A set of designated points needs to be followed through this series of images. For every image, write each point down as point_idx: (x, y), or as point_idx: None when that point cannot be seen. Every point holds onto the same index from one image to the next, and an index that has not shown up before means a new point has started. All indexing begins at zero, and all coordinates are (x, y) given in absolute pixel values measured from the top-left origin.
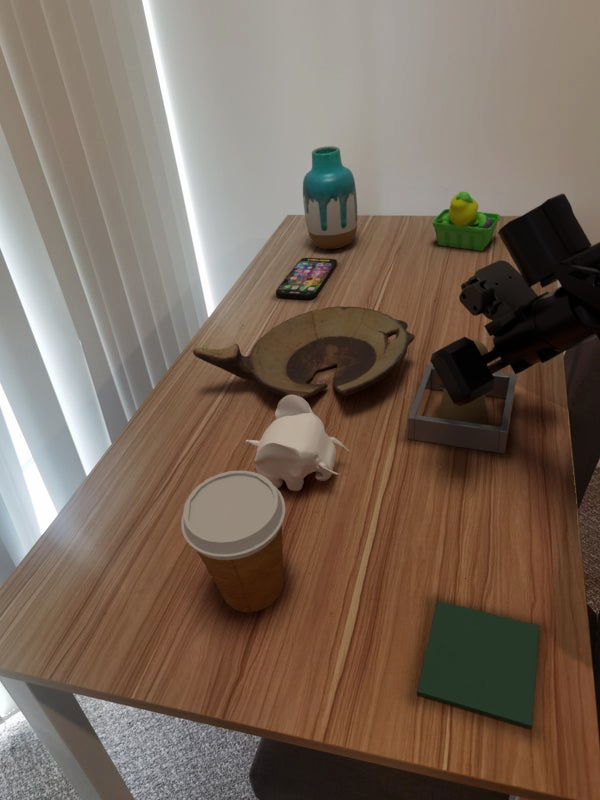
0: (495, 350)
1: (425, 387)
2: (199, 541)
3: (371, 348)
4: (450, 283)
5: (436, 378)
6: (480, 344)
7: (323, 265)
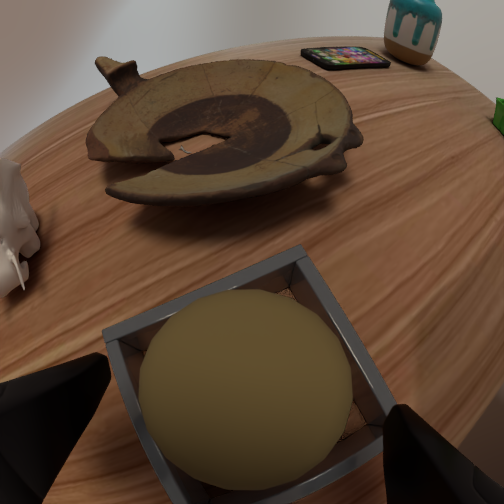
0: None
1: None
2: None
3: (282, 142)
4: (482, 157)
5: (92, 353)
6: (310, 434)
7: (373, 58)
